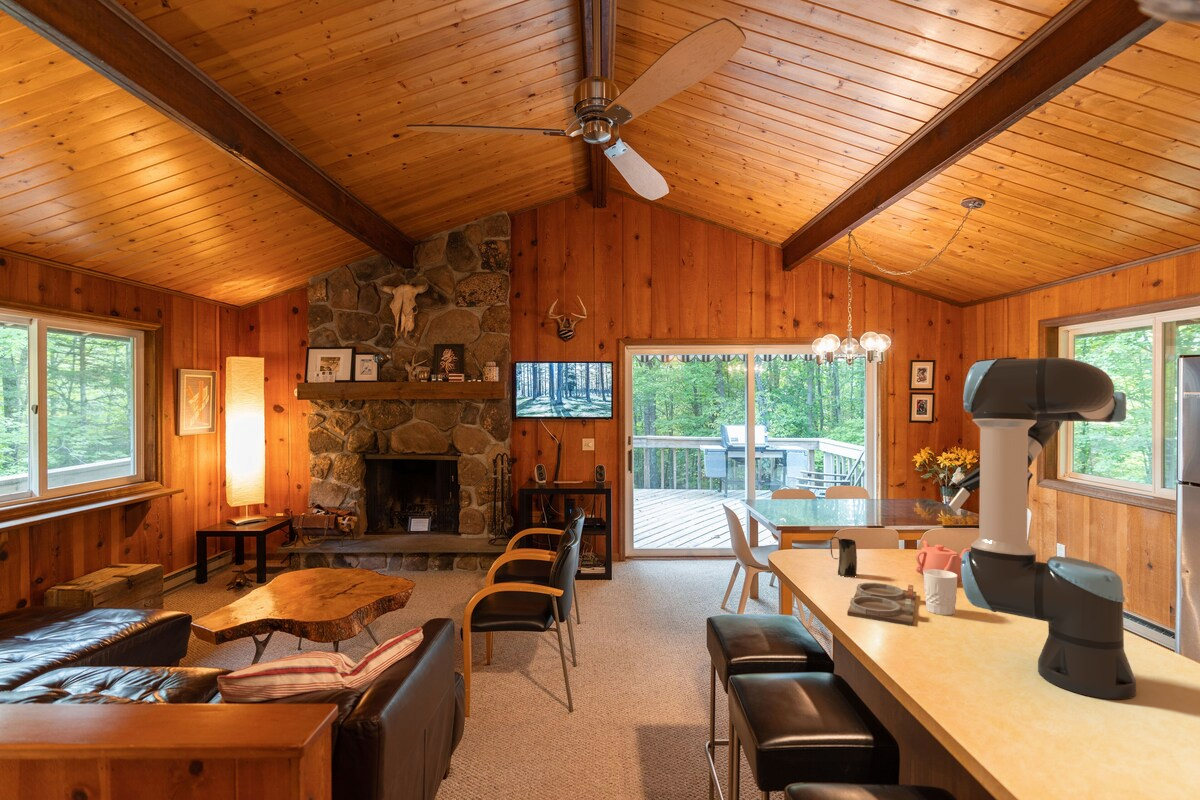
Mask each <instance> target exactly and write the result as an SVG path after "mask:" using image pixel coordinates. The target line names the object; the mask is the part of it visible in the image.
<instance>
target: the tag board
mask: <svg viewBox="0 0 1200 800" xmlns="http://www.w3.org/2000/svg"><path fill="white" fill-rule="evenodd" d="M916 600H917V591H915V590H914V584H908V585H907V589H902V588H900V587H898V586H894V585H893V584H892V585H891V584H887V583H880V582H863V583H862V582H861V583H858V584H857V585H856V591H855V593H854V596H853V597H851V599H850V601H849V602H850V605H849V608H848V609H847V611H846V612H847V614H846V615H847V616H848V617H854V618H860V619H861V618H862V619H868V620H873V621H874V620H875V621H879V622H887V623H892V624H893V623H894V624H899V625H905V626H913V625H914V618H915V617H914V616H915V610H914V609H916V602H917V601H916ZM915 601H916V602H915Z"/></svg>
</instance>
